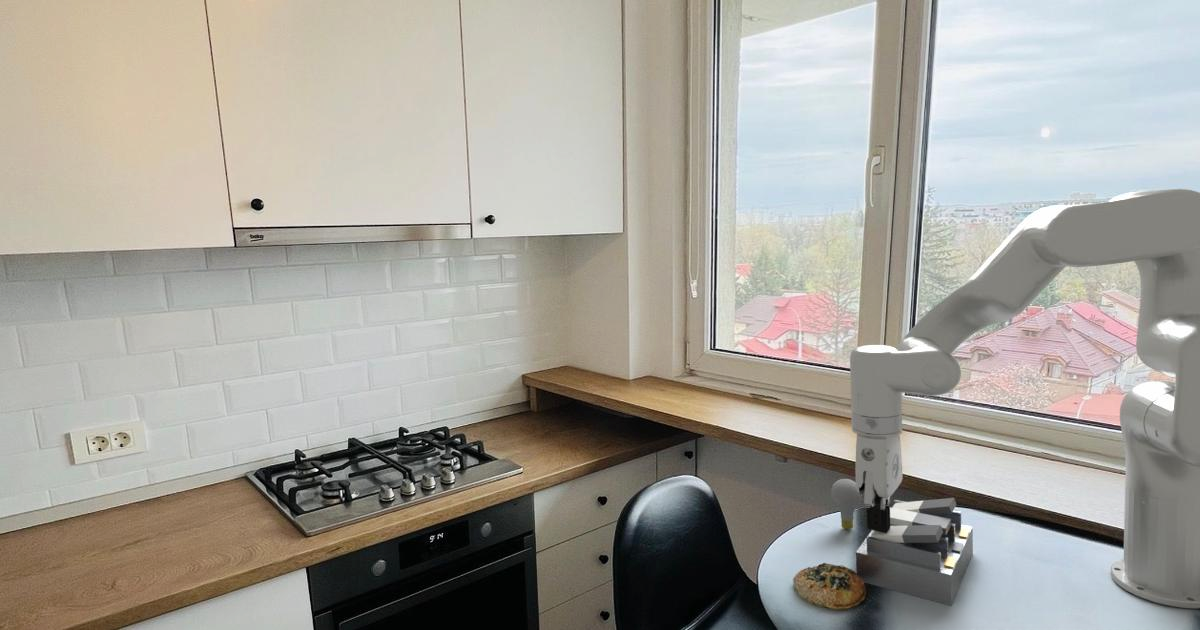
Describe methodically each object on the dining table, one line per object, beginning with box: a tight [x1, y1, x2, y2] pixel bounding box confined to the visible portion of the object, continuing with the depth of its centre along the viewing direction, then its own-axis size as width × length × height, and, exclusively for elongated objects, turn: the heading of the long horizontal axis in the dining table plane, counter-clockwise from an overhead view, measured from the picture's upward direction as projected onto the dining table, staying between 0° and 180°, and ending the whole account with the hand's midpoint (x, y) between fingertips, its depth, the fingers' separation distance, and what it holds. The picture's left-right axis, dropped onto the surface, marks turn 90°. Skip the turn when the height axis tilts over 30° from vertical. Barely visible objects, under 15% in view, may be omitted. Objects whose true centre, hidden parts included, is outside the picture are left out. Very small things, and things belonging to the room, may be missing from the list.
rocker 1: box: [871, 525, 943, 544], centre depth 104 cm, size 10×4×1 cm, turn 51°
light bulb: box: [830, 478, 863, 531], centre depth 124 cm, size 6×6×10 cm
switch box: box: [855, 499, 974, 606], centre depth 109 cm, size 14×18×8 cm
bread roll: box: [792, 562, 867, 611], centre depth 104 cm, size 11×11×5 cm
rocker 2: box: [891, 497, 957, 515], centre depth 113 cm, size 10×4×1 cm, turn 51°
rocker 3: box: [890, 506, 951, 535], centre depth 108 cm, size 10×4×1 cm, turn 51°
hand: (878, 528), depth 107 cm, fingers closed
